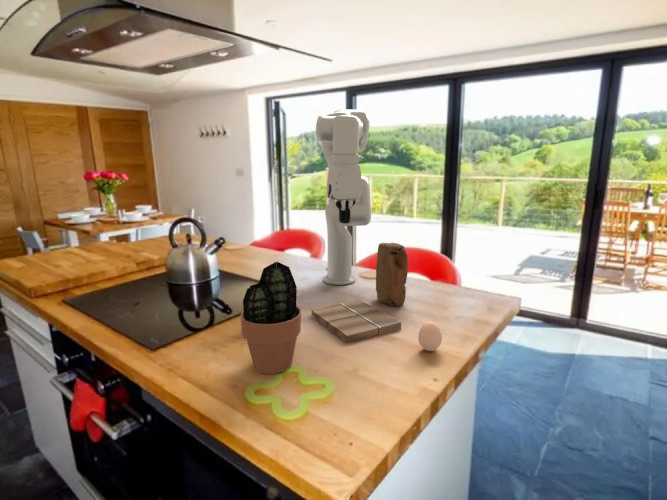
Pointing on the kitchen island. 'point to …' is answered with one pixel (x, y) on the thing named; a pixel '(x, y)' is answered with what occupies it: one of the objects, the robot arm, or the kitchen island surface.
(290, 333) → the potted plant
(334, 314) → the plank
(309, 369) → the kitchen island surface
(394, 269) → the block
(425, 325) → the egg
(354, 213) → the robot arm
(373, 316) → the laid board
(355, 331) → the plank
